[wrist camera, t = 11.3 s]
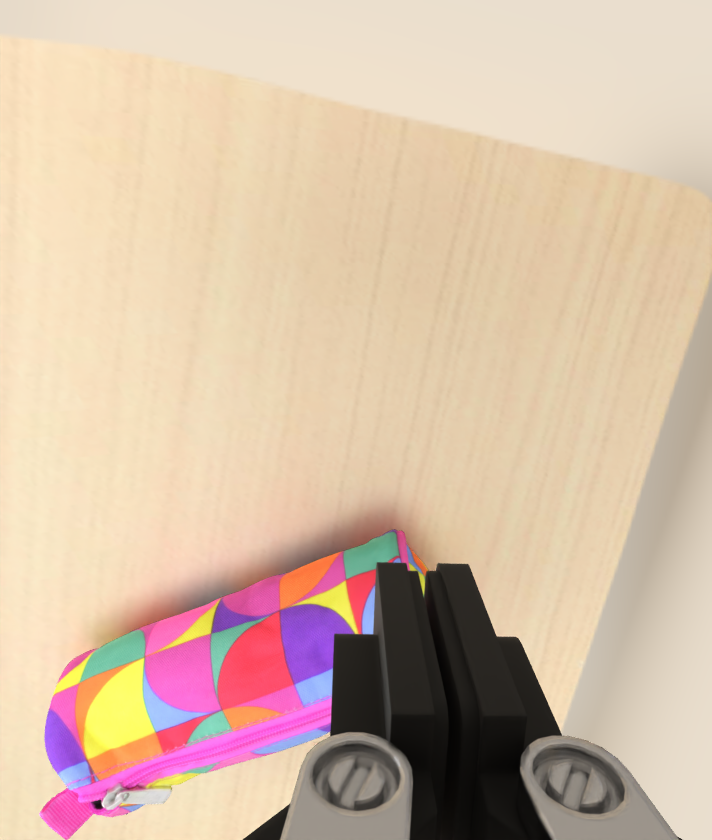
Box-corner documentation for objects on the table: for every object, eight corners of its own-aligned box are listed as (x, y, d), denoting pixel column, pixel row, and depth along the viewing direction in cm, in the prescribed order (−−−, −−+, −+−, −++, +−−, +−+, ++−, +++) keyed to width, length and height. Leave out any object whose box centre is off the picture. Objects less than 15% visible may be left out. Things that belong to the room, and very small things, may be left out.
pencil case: (146, 756, 40) (95, 893, 32) (67, 639, 38) (-12, 752, 29) (459, 620, 39) (495, 725, 30) (395, 489, 36) (415, 562, 28)
